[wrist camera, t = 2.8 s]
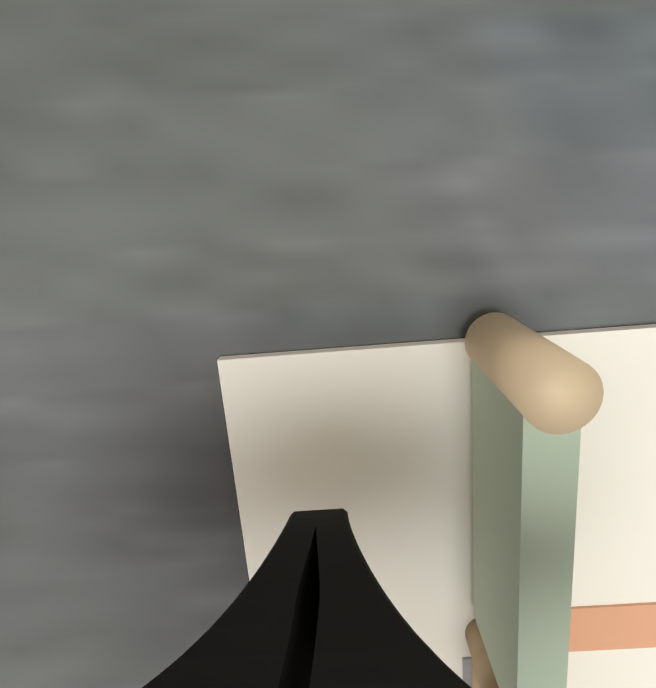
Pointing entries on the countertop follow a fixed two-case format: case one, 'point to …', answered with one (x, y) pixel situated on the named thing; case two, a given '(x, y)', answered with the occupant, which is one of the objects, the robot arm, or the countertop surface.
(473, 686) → the fixed fence
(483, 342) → the green and tan bar
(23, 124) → the countertop surface
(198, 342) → the countertop surface
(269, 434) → the card
